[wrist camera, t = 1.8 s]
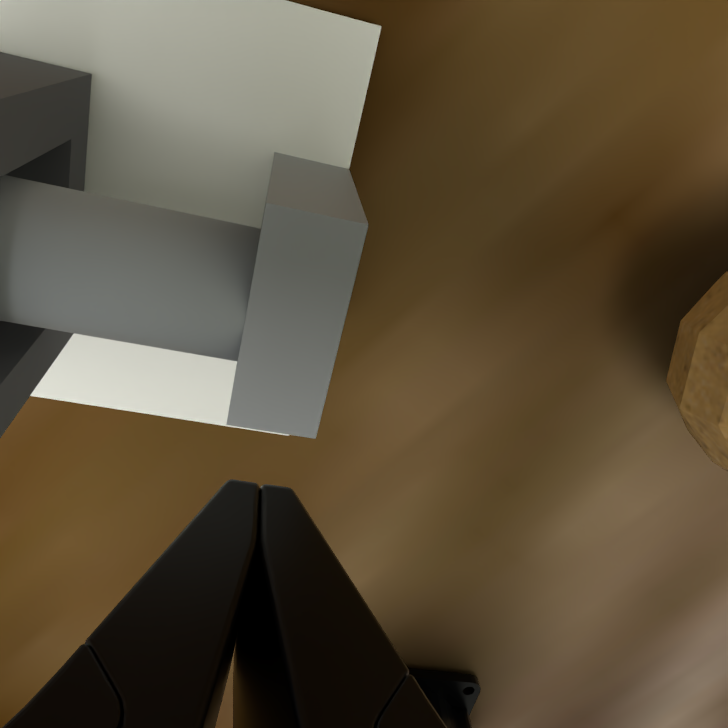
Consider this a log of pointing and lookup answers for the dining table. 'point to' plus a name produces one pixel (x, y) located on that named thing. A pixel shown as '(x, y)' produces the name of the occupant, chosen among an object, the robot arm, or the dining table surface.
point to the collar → (45, 165)
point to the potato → (704, 372)
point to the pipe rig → (194, 207)
